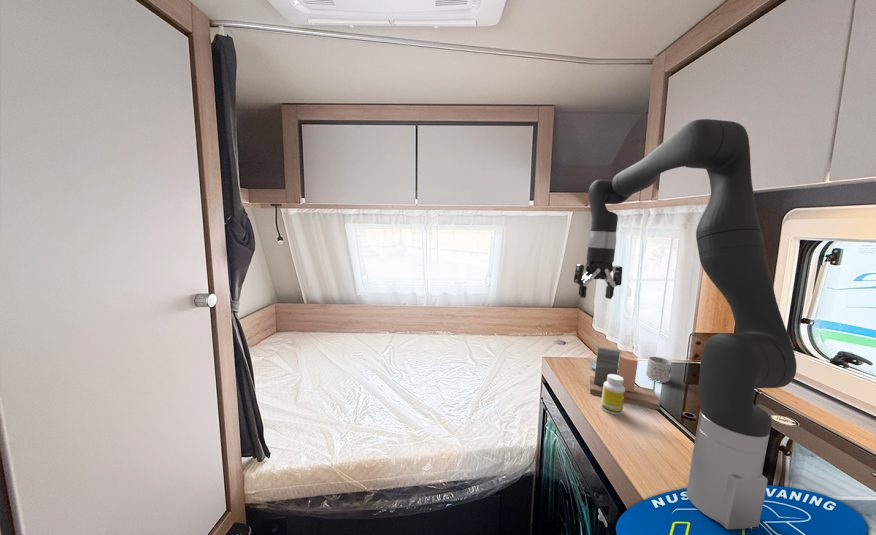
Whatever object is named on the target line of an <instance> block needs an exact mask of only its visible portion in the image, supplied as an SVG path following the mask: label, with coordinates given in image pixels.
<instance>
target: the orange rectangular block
mask: <svg viewBox="0 0 876 535" xmlns="http://www.w3.org/2000/svg"><path fill="white" fill-rule="evenodd" d="M638 362H639V360H638V358H636V357H635V358H634V357H630V356H624V355H620V356H619V363H618V371H617V375H619V376H621V377H622V378H623V379H624V381H623V384H622V385H623V386H624V388H625V390H626V391H631V392H634V386H636V385H635V384H636V377H637V369H638V365H639V364H638Z"/></svg>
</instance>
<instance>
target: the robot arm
mask: <svg viewBox="0 0 876 535" xmlns="http://www.w3.org/2000/svg"><path fill="white" fill-rule="evenodd" d="M747 131H748V130H747V129H746V127H744V126H743V125H742V124H741V123H738V122H736V121H731V120H721V119H710V118H709V119H708V118H707V119H706V118H705V119H704V118H702V119H695V120H693V121H690V122H689V123H686V124H685V125H683V126H682V127H681V128H679V129H678V130H676V131H675V132H674V133H673V134H672V135H670V136H669V137H668V138H667V139H666V140H664V141H663V142H661V144H659V145H658V146H657V147H656V148H654V150H652V151H651V152H650V153H648V154H647V155H646V156H645V157H644V158H642V159H641V160H639V161H637V162H636V163H634V164H632V165H630V166H629V167H626V168H624V169H623V170H621V171H620V172H618V173H617V174H616V175H614V177H613V178H612V179H601V178H600V179H596V180H594V181H593V182H592V183H591V185H590V186H589V189H588V196H587V197H588V202H589V206H590V214H591V226H590V232H589V237H588V242H587V251H586V252H587V253H586V264H585V265H584V264H581V263H577V264H576V265H575V270H574V277H573V283H575V284H578V285H579V286H578V296H579V297H580V298H582V299H586V296H587V286H588V284H589V283H590V282H592V281H594V280H603V281H605V283H606V288H605V296H604V297H605V299H608V300H612V298H613V297H614V292H615V287H617V286H621V285H622V279H623V267H622V265H621V266H620V265H614V266H613V263H614V262H615V254H616V246H617V229H618V221H619V217H618V216H619V215H618V214H617V213H616V212H613V211H610V210H608V208H607V205H619V204H622V203H624V202H626V201H627V200H628V199H629V198H631V197H632V196H633V194H636V193H639V192H641V191H644V190H646V189H648V188H649V187H651V186H653V185H654V184H655V183H656V182H657V181H658V179H659V178H660V177H661V174H663V173H664V172H667V171H669V170H674V169H677V168H682V167H683V168H684V167H685V168H687V169H688V168H689V169H701V170H706V172H707V175H708V179H709V185H710V186H709V187H710V198H709V201H708V203H707V206H706V207H705V209H704V211H703V213H702V215H701V217H700V219H699V222H698V224H697V227H696V232H695V238H696V246H697V252H698V256H699V257H698V258H699V261H700V265H701V267H702V269H703V271H704V272H705V275H707V277H708V278H709V280H710V281H711V282H712V283H713V284H714V286H715V287H716V288H717V290H718V291H719V293H721V295H722V296H723V298H725V300H726V302H727V304H728V305H729V307H730V310H731V312H732V315H733V320H734V325H735V330H736V332H721V333H717V334H713V335H711V336H710V337H709V338H708V339H707V340H706V342H705V343H704V346H703V348H702V351H701V356H700V363H699V364H700V366H699V377H698V386H697V388H698V389H697V391H698V396H699V397H698V398H699V400H700V409H699V415H698V419H697V420H698V422H697V427H696V432H695V438H694V444H693V450H692V455H691V462H690V468H689V473H688V482H687V486H686V496H687V498H688V500H689V501H690V502H691V504H692V505H693V506H694V507H695V508H696V509H697V510H698V511H700V512H701V513H703V515H705V516H707V517H708V518H710V519H711V520H714V521H715V522H717V523H719V524H720V525H721V526H723V527H724V528H725V529H726V530H744V529H745V530H747V529H746V528H748V529H752V528H751V527H757V526H758V527H759V526H760V520H761V515H762V511H763V507H764V501H765V496H766V491H767V486H768V478H767V477H766V476H764V474H762V473H763V468H764V464H765V459H766V458H765V457H766V453H767V447H768V443H769V438H770V434H771V428H772V423H773V422H772V418H771V416H770V414H769V413H768V412H767V411H765V410H764V409H763V408H761V407H759V406H757V405H756V404H754V395H755V389H778V388H783V387H786V386H788V385H789V384H790V383H791V382H793V380H794V379H795V376H796V374H797V366H798V365H797V359H796V355H795V351H794V348H793V345H792V342H791V339H790V337H789V333H788V331H787V329H786V325H785V323H784V321H783V317H782V313H781V311H780V309H779V304H778V301H777V297H776V294H775V289H774V285H773V281H772V276H771V273H770V268H769V264H768V259H767V252H766V245H765V241H764V235H763V232H762V227H761V224H760V219H759V216H758V211H757V203H756V198H755V194H754V188H753V181H752V169H751V168H752V167H751V166H752V165H751V164H752V163H751V148H750V147H751V146H750V139H749V134H748V132H747ZM585 271H586V272H585ZM584 272H585V273H584ZM611 273H613V276H612V275H611ZM583 274H584V275H583Z"/></svg>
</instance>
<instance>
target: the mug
mask: <svg viewBox="0 0 876 535" xmlns="http://www.w3.org/2000/svg"><path fill="white" fill-rule="evenodd" d="M647 360H648V361H647V367H646V374H645V376H646V375H647V376H648V377H649V378H651V379H653V380H656V381H660V382H668V381H669V382H670V378H671V377H670V375H671V370H672V364H673V363H672V361H670V360H668V359H666V358H663V357H659V356H649V357H648V359H647ZM649 378H648V379H649ZM651 379H650V380H651ZM653 380H652V381H653ZM656 381H655V382H656ZM660 382H659V383H660ZM669 382H668V383H669Z"/></svg>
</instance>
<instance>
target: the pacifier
mask: <svg viewBox="0 0 876 535" xmlns="http://www.w3.org/2000/svg"><path fill="white" fill-rule="evenodd" d="M596 360H597V355H596V356H595V361H594V360H590V361H589V363H588V364H589V366H590V367H591V368H592V369H593V370H594V371H595V369H596Z"/></svg>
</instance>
